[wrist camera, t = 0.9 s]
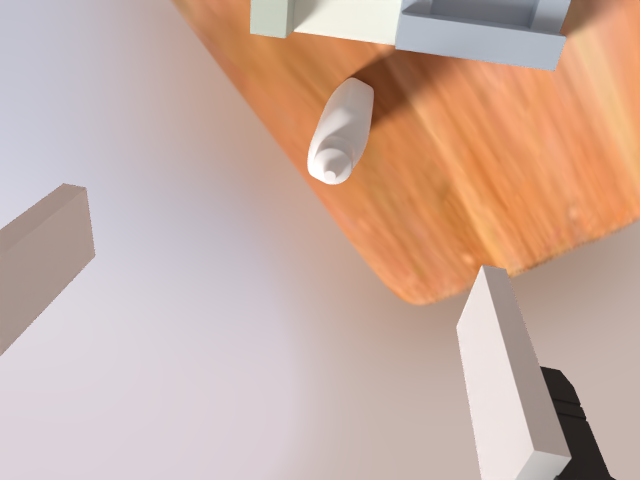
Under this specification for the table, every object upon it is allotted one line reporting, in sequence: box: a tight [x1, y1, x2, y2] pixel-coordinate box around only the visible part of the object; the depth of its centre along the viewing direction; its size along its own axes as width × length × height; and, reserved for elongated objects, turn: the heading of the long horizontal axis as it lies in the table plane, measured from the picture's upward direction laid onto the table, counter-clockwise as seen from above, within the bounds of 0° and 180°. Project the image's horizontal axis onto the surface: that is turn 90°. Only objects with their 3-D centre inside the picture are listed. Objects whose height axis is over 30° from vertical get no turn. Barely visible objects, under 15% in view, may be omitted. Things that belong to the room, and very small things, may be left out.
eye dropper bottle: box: [308, 77, 374, 184], centre depth 33 cm, size 4×6×12 cm
